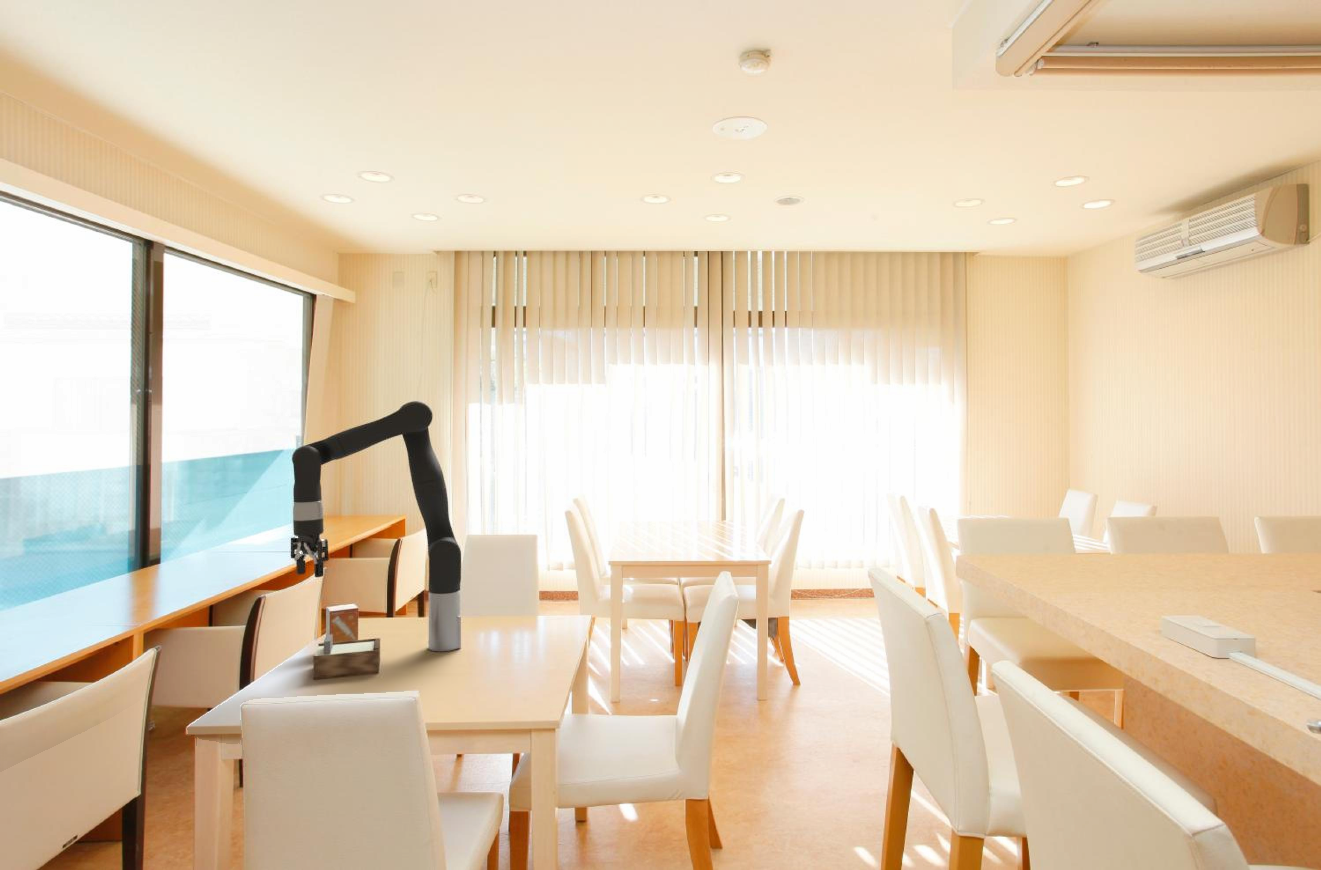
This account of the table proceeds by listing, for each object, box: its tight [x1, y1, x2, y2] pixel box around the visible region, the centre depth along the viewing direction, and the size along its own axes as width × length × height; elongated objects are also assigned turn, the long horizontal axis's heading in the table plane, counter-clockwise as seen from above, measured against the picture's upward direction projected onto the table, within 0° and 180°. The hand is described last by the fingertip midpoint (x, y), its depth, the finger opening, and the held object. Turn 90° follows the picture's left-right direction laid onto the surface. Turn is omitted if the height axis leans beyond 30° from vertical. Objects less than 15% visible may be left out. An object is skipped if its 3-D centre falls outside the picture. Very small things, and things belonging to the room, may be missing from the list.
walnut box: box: [313, 637, 381, 680], centre depth 197 cm, size 16×12×6 cm
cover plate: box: [314, 634, 374, 656], centre depth 196 cm, size 14×11×4 cm
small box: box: [325, 603, 359, 642], centre depth 214 cm, size 8×6×13 cm
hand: (310, 575), depth 199 cm, fingers open, 8 cm apart
